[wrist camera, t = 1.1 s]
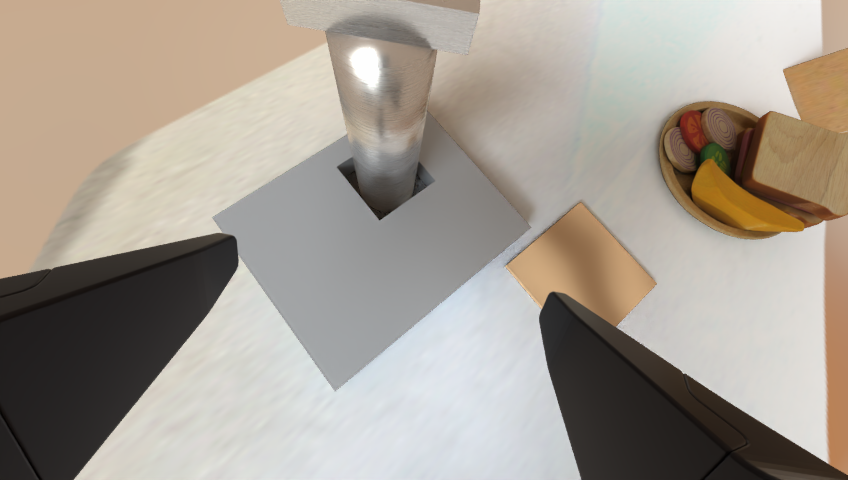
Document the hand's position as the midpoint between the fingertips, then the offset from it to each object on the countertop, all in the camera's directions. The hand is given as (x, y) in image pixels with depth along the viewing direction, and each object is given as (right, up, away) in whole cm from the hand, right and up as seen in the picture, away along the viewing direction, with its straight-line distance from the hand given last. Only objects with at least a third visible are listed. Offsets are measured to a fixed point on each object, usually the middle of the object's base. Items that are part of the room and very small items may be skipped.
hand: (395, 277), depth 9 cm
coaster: (+12, -2, +14) cm, 19 cm away
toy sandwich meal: (+27, +7, +19) cm, 33 cm away
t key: (-2, +5, +15) cm, 16 cm away
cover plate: (-2, +2, +14) cm, 14 cm away
